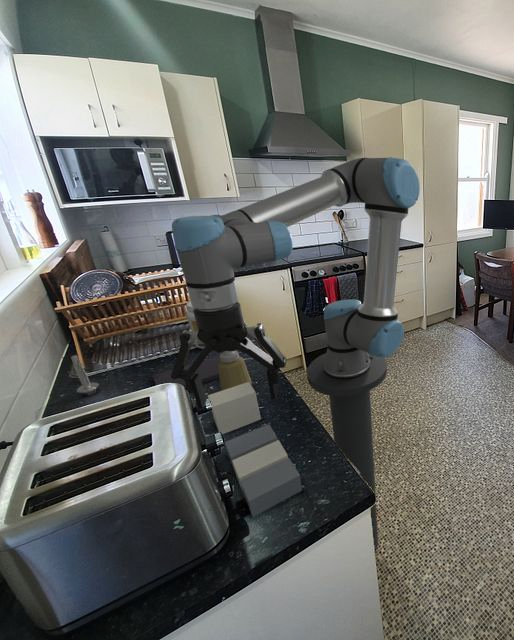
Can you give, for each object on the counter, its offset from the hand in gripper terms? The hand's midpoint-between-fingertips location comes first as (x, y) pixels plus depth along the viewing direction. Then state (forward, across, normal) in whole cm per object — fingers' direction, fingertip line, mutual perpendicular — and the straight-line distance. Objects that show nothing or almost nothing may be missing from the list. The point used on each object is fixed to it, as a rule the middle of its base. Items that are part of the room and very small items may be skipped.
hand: (239, 400), depth 72 cm
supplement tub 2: (+19, -27, +68) cm, 76 cm away
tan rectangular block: (+19, +2, -2) cm, 19 cm away
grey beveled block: (+19, +5, -8) cm, 21 cm away
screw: (+19, -52, +41) cm, 69 cm away
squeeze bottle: (+19, -10, +30) cm, 37 cm away
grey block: (+19, -1, +4) cm, 19 cm away
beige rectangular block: (+19, -7, +18) cm, 27 cm away
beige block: (+14, -7, +18) cm, 24 cm away
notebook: (+19, -26, +45) cm, 55 cm away
